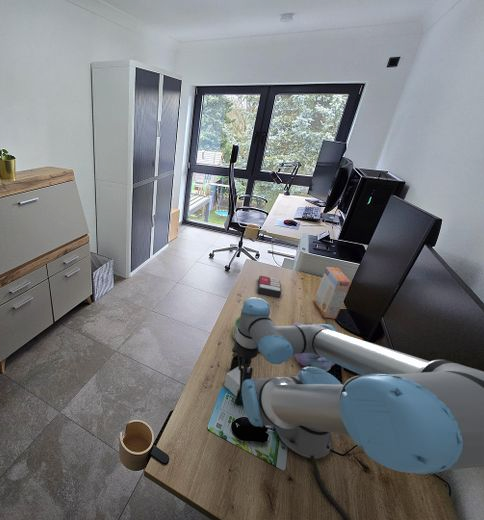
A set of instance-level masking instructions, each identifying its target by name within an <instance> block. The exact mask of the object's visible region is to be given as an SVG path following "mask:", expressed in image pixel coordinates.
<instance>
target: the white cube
mask: <svg viewBox="0 0 484 520" xmlns="http://www.w3.org/2000/svg"><path fill="white" fill-rule="evenodd" d="M251 378H253V376H252V377H251ZM223 385H224V387H225V388H226V389H227V390H228V391H230V393H232V394H233V395H234V396H235V398H236V397H237V390H238V389H240V370H239V367H237V368H235V369H233V370H232V371H230V370H229V371H228V372H227V373H226V375H225V379H224V383H223Z"/></svg>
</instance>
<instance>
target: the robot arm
mask: <svg viewBox="0 0 484 520" xmlns="http://www.w3.org/2000/svg"><path fill="white" fill-rule="evenodd" d="M270 314H271V305H270V303H269V302H268V301H266V300H265V299H263V298H261V297H255V296H254V297H248V298H246V299H245V300H244V302H243V304H242V308H241V309H240V316H239V317H240V321H239V326H238V329H237V333H236V339H234V343H233V346H232V349H231V352H232V358H231V362H230V367H229V372H230V371H232V370H233V369H235V368H237V367H239V370H240V389H238V390H237V397H236V396H235V400H234V403H235V405H238V406H243V409H244V412H245V415H246V417H247V420H248V421H249V423H250V424H251V425H252V426H253V427H260V428H264V427H271V426H272V427H274V430H275V431H274V432H275V433H276V435H277V437H278V439H279V440H280V442H281V443H282V444H283V445H284V446H285V447H286V448H287V449H288V450H289V451H291V452H292V453H294V454H295V455H297V456H298V457H300V458H303V459H307V460H310V461H311V463H312V466H313V469H314V475H315V477H316V481H317V483H318V485H319V487H320V490H322V492H323V494H324V495H325V496H326V497H327V499H328V500H329V501H330V502H331V504H332V505H333V506H334V507H335V508H336V509H337V511H338V512H339V513H340V514H341V516H342V517H343V519H344V520H351V519H350V517H349V516H348V514H347V513H346V511H345V510H344V509H343V508H342V507H341V505H340V504H339V502H337V501H336V500H335V499H334V497H333V496H332V495H331V494H330V492H329V491H328V490H327V488H326V487H325V485H324V482H323V481H322V479H321V474H320V471H319V467H318V463H317V461H319V460H322V459H324V458H326V457H327V456H328V455H329V453H330V451H331V449H332V445H333V438H332V434H335V435H340V436H344V437H348V438H351V439H352V441H353V442H354V444H356V446H357V447H360V448H363V452H364V454H365V455H366V456H368V457H369V458H370V459H371V460H373V461H374V462H376V463H377V464H379V465H381V466H383V467H384V468H386V469H388V470H389V469H390V470H393V471H395V472H399V473H408V474H409V473H411V474H415V475H416V474H417V475H432V474H437V473H441V472H444V471H454V470H462V469H472V468H481V467H484V371H483V370H480V369H477V368H472V367H469V366H466V365H463V364H460V363H456V362H453V361H450V360H447V359H434V360H431V361H430V360H426V359H425V358H424V359H423V358H420V357H417V356H414V355H411V354H408V353H405V352H401V351H399V350H395V349H392V348H389V347H385V346H383V345H379V344H376V343H373V342H369V341H366V340H363V339H360V338H357V337H353V336H351V335H347V334H344V333H342V332H339V331H338V330H337V329H336V328H335V326H333V325H331V324H326V323H324V324H323V323H312V324H313V325H310V324H305V325H296V326H294V325H276V324H275V323H274V321H273V320H272V318H271V317H270ZM258 351H260V352H258ZM258 353H260V354H261V355H262V356H263V357H264V358H265V360H266V362H268V363H270V364H272V365H282V364H283V363H286V362H288V361H290V360H291V358H292V357H293V356H294V354H299V353H314V354H316V355H318V356H321V357H323V358H325V359H327V360H329V361H332V362H334V363H335V365H339V367H340V366H341V367H342V368H344V369H347V370H348V371H351V372H353V373H355V374H357V375H355V376H353V377H350V378H349V379H347V380H346V381H345V382H344V384H342V382H341V381H340V380H338V378H336V377H335V376H334V375H333V374H331V373H329V372H328V371H327V372H326V371H324V370H322V369H319V368H316V367H312V366H303V368H301V369H300V370H299V372H298V375H295V376H294V375H293V376H292V375H291V376H277V377H276V376H275V377H262V378H261V377H260V378H259V377H257V378H253V370H254V368H253V366H251V364H252V359H254V358H256V357H257V356H258ZM251 377H252V378H251Z"/></svg>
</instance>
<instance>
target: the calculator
mask: <svg viewBox="0 0 484 520" xmlns="http://www.w3.org/2000/svg"><path fill="white" fill-rule="evenodd" d="M257 294H261V295H265V296H269V297H273V298H281V294H282V287H281V280H280V278H276V277H269V276H265V275H259V277H258V279H257Z"/></svg>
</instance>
